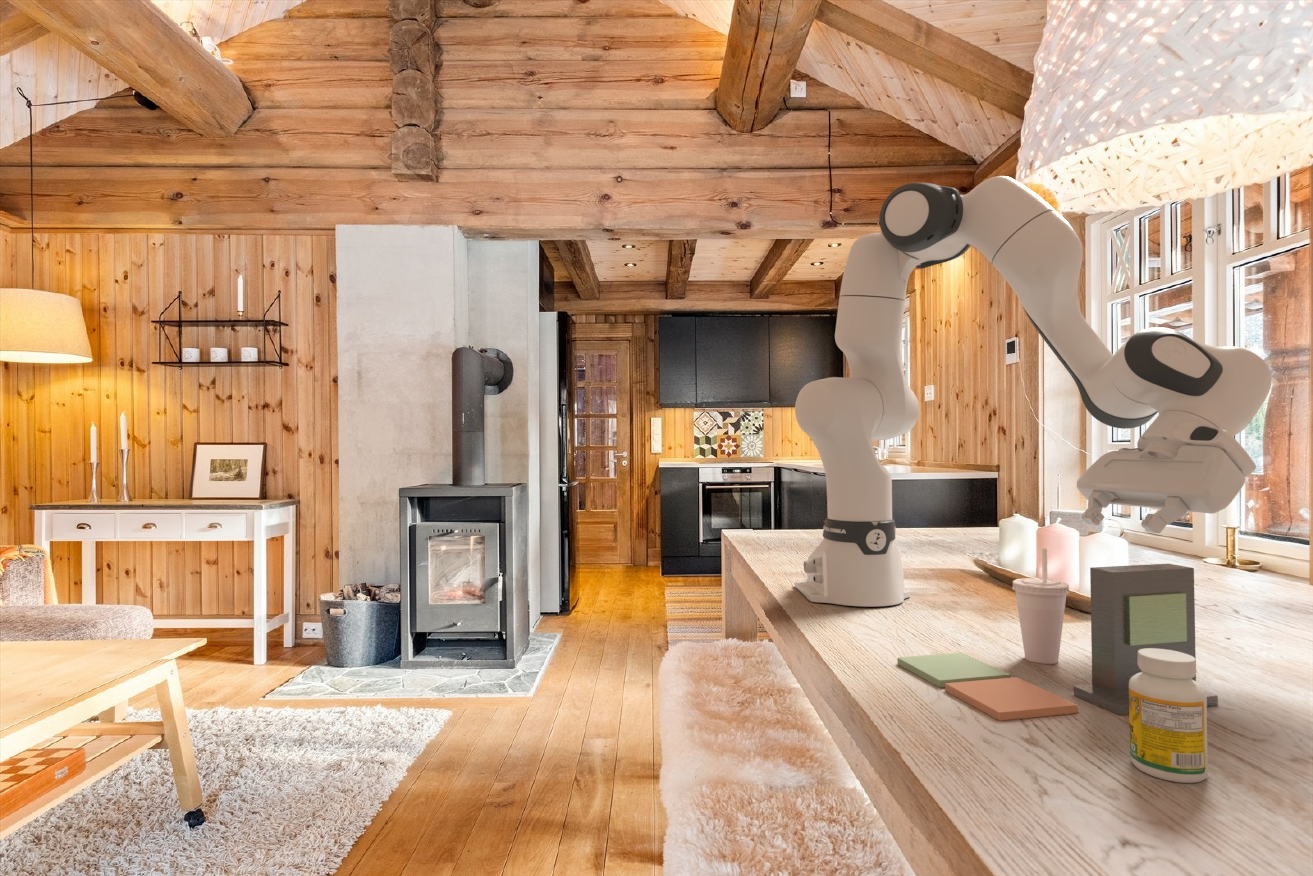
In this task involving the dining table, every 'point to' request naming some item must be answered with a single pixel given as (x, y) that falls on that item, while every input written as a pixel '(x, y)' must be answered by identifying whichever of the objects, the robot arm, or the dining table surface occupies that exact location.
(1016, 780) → the dining table surface
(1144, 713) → the supplement bottle
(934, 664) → the sage pad
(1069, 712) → the terracotta pad
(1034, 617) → the smoothie
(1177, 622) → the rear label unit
